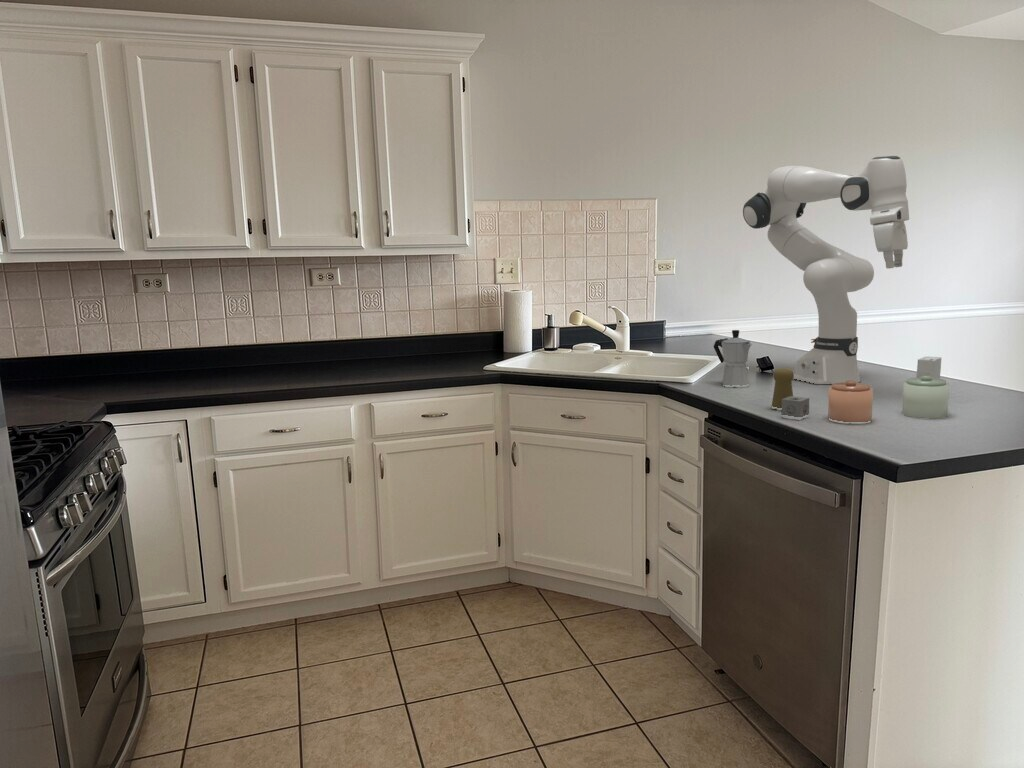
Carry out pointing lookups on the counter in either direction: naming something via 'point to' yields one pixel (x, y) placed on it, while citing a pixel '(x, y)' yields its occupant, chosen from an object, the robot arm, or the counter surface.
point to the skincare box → (929, 367)
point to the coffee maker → (734, 359)
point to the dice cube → (795, 406)
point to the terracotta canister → (850, 402)
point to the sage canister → (925, 397)
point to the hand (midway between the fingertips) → (894, 267)
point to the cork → (782, 386)
